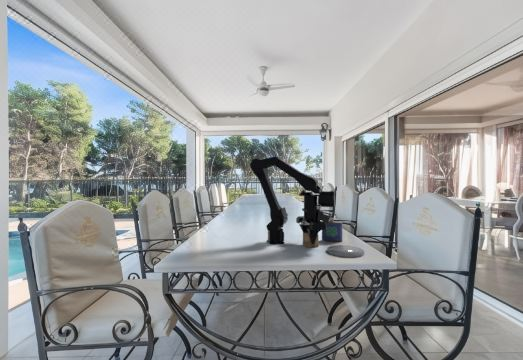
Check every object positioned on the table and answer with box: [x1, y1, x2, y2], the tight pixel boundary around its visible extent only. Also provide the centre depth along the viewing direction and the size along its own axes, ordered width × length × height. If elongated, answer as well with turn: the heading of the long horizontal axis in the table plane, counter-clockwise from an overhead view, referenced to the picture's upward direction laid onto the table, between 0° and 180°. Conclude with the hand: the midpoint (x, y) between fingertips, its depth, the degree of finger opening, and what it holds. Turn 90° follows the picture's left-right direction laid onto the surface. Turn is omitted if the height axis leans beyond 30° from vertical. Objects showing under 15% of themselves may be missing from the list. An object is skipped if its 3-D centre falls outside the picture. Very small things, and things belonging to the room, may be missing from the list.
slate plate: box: [326, 244, 365, 259], centre depth 112 cm, size 14×14×1 cm
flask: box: [321, 217, 343, 243], centre depth 130 cm, size 9×3×11 cm, turn 74°
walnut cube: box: [302, 232, 319, 248], centre depth 122 cm, size 5×5×5 cm
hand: (310, 242), depth 122 cm, fingers closed on walnut cube, 5 cm apart
